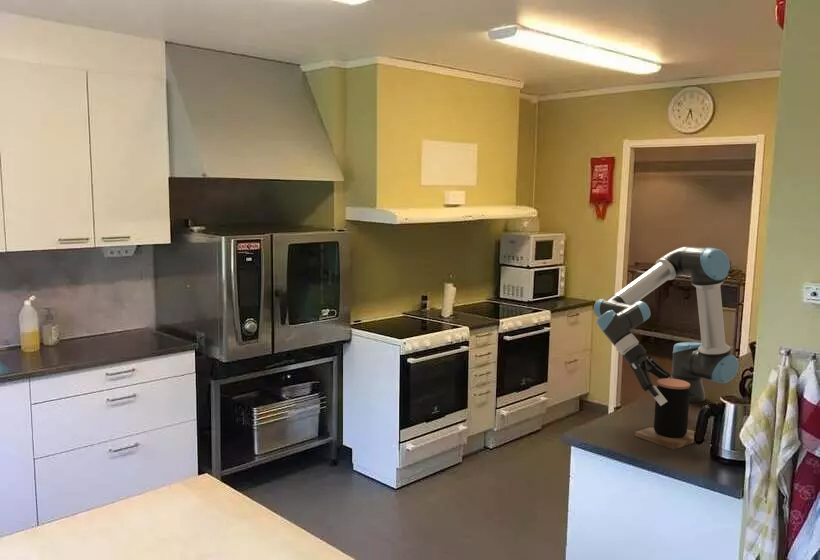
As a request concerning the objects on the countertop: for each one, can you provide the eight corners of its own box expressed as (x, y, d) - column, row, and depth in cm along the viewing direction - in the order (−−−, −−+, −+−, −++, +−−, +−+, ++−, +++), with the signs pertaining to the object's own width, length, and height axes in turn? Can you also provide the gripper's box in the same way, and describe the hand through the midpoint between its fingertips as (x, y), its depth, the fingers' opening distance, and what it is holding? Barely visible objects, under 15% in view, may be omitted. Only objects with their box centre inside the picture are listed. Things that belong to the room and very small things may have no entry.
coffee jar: (681, 428, 236) (684, 378, 234) (690, 439, 225) (694, 387, 223) (650, 427, 237) (653, 377, 235) (658, 437, 226) (661, 385, 224)
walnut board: (666, 426, 242) (666, 422, 242) (705, 439, 230) (705, 435, 230) (635, 435, 232) (635, 431, 232) (673, 449, 220) (673, 445, 220)
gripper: (636, 349, 249) (675, 397, 241) (608, 361, 230) (649, 413, 222) (652, 337, 245) (691, 385, 237) (624, 348, 226) (666, 401, 218)
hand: (671, 399), depth 229 cm, fingers open, 13 cm apart
